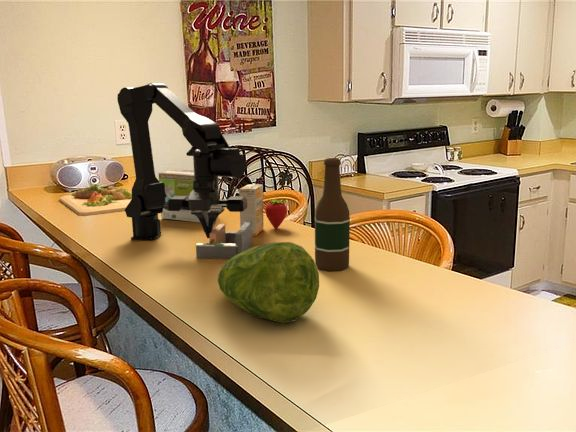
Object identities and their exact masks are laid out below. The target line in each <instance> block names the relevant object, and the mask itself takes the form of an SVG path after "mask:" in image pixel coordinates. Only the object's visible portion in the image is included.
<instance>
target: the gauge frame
mask: <svg viewBox="0 0 576 432" xmlns="http://www.w3.org/2000/svg"><path fill="white" fill-rule="evenodd" d="M225 232H226V243H212V244H209V242H197V243H196V244H195V253H196V254H195V255H196V259H214V260H215V259H216V260H217V259H218V260H219V259H220V260H221V259H222V260H230V259H231V258H233V257H234V256H235V255H237V254H239V253H241V252H243V251H246V250H248V249H250V248H252V245H253V244H254V243H253V242H254V239H253V237H254V236H253V232H252V221H246V222H245V223H244V224H243V225H242V227H241V228H238V230H237V231H225Z"/></svg>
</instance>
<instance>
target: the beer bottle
mask: <svg viewBox="0 0 576 432" xmlns="http://www.w3.org/2000/svg"><path fill="white" fill-rule="evenodd" d="M323 165H324V180H323V190H322V195H321V197H320V199H319V200H318V201H317V204H316V207H315V211H314V262H315V264H316V267H317V270H320V271H325V272H342V271H344V270H346V269H348V268H349V265H350V236H351V235H350V227H351V226H350V224H351V223H350V222H351V221H350V217H351V215H350V210H349V207H348V204H347V202H346V200H345V199H344V197H343V195H342V185H341V184H342V183H341V167H340V166H341V165H342V162H341V159H339V158H338V157H336V158H335V157H331V158H330V157H328V158H325V159H324V162H323Z"/></svg>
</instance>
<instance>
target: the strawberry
mask: <svg viewBox="0 0 576 432" xmlns="http://www.w3.org/2000/svg"><path fill="white" fill-rule="evenodd" d="M278 197H279V194H277V196H276V198H278ZM285 202H287V200H285V199H284V200H282V199H280V200H278V199H270V200H268V201H267V204H266V205H265V208H264V212H265V215H266V218H267V219H268V221H269V223H270V224H271V226H272V227H273V229H278V228H279V227H280V226H281V224H283V222H284V220H285V219H286V217H287V213H288V207H287V206H286V204H285Z"/></svg>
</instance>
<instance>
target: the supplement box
mask: <svg viewBox="0 0 576 432" xmlns="http://www.w3.org/2000/svg"><path fill="white" fill-rule="evenodd" d="M263 187H264V185H263V184H261V183H259V184H258V183H256V184H253V183H252V184H246V185H244V186H242V187H241V188H239V189H238V191H239V193H238V194H239V196H245V198H246V199H247V208H246V209H245V210H244V211H242V212H239V221H240V222H239V225H240V226H239V227H240V228H241V227H242V225H243V224H244V223H245V222H246V221H252V232H253V237H257V236H258V235H259V233H261V232H262V231H263V230H264V189H263ZM240 228H239V229H240Z"/></svg>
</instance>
